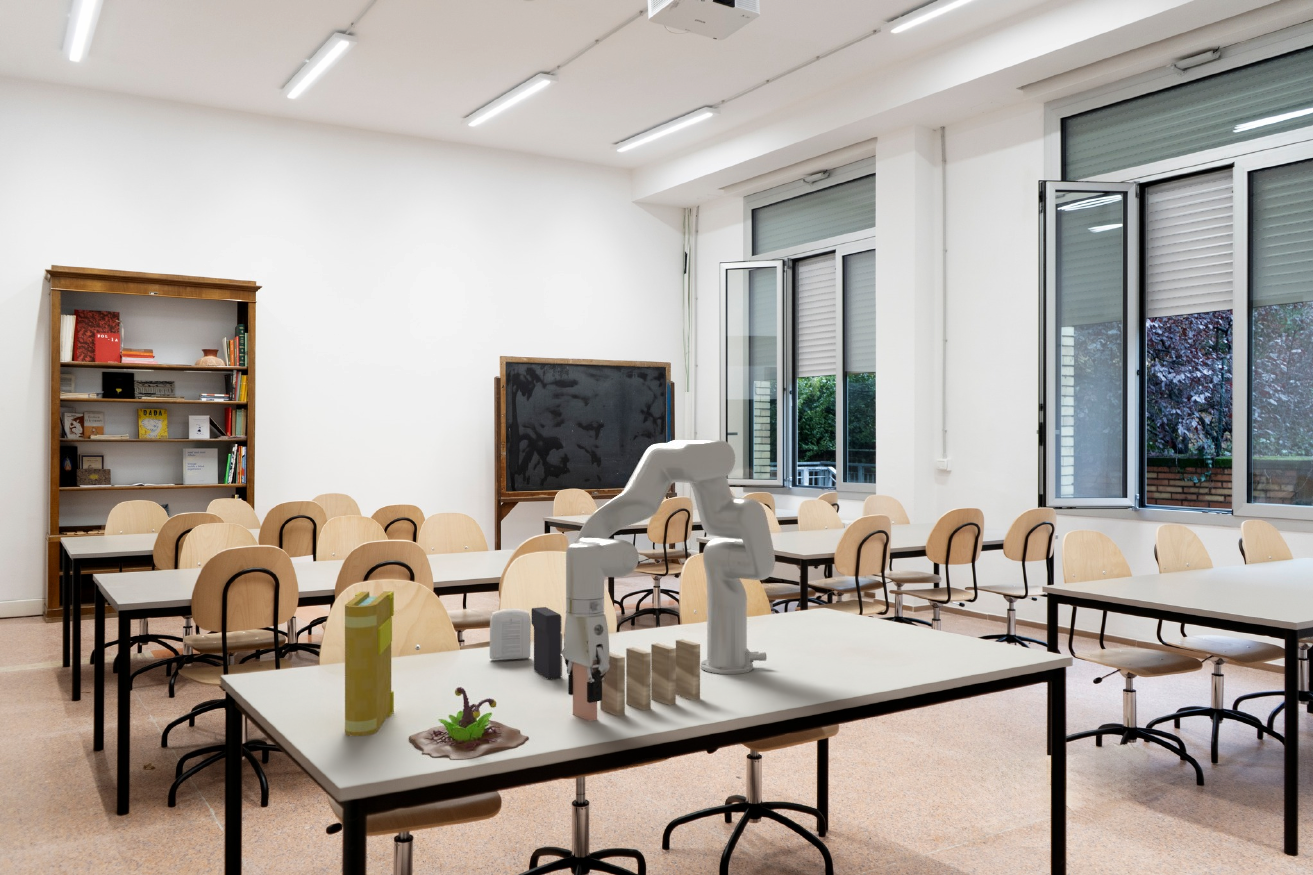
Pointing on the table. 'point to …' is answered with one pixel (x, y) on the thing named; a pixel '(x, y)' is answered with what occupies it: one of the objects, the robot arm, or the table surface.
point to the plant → (467, 734)
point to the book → (368, 662)
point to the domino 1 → (582, 694)
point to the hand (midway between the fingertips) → (585, 696)
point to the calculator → (547, 642)
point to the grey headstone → (510, 634)
